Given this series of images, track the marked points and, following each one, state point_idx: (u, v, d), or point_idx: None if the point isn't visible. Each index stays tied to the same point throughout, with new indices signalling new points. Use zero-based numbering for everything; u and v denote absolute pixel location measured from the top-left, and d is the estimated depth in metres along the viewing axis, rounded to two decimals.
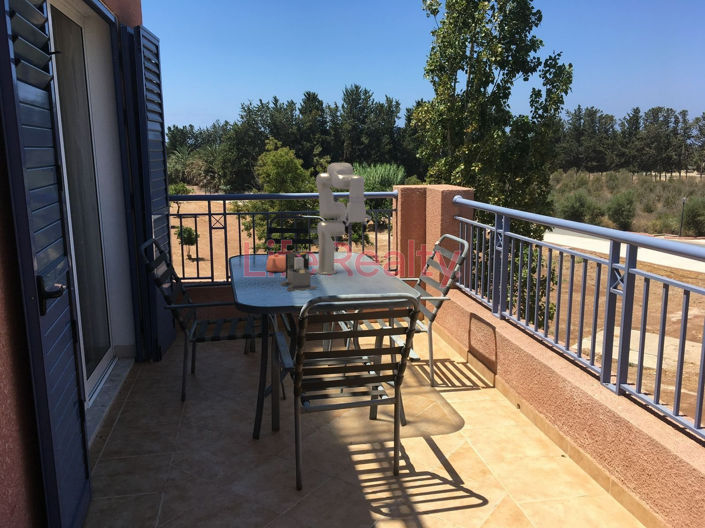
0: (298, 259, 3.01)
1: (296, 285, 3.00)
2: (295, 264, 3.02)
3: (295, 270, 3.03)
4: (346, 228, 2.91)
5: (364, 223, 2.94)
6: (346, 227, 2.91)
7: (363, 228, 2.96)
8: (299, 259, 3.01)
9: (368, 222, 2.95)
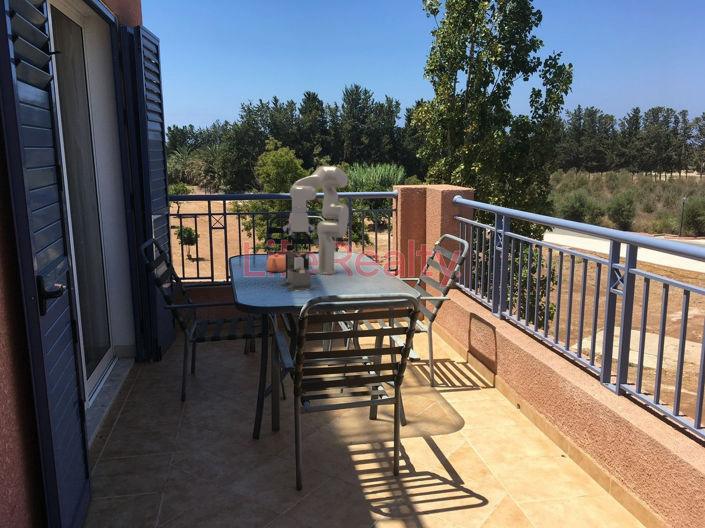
0: (298, 259, 3.01)
1: (296, 285, 3.00)
2: (295, 264, 3.02)
3: (295, 270, 3.03)
4: (289, 238, 2.97)
5: (307, 233, 3.00)
6: (289, 237, 2.97)
7: (306, 238, 3.02)
8: (299, 259, 3.01)
9: (311, 232, 3.01)
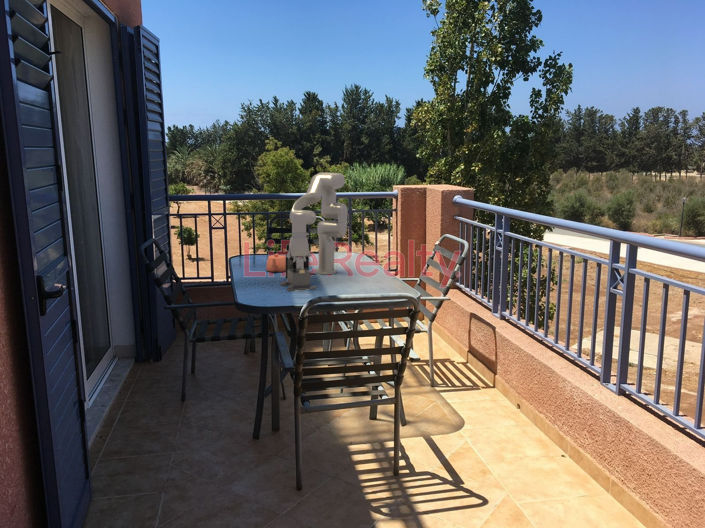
0: (298, 259, 3.01)
1: (296, 285, 3.00)
2: None
3: (295, 270, 3.03)
4: (293, 264, 3.02)
5: None
6: (293, 263, 3.01)
7: None
8: (299, 259, 3.01)
9: (307, 258, 3.04)
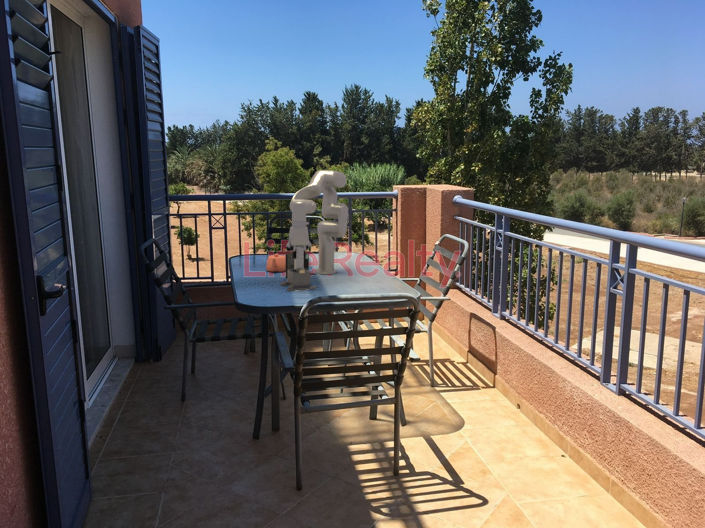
0: (298, 248, 2.99)
1: (296, 285, 3.00)
2: None
3: (295, 259, 3.02)
4: (294, 253, 3.00)
5: None
6: (294, 252, 3.00)
7: None
8: (299, 248, 3.00)
9: (307, 248, 3.02)
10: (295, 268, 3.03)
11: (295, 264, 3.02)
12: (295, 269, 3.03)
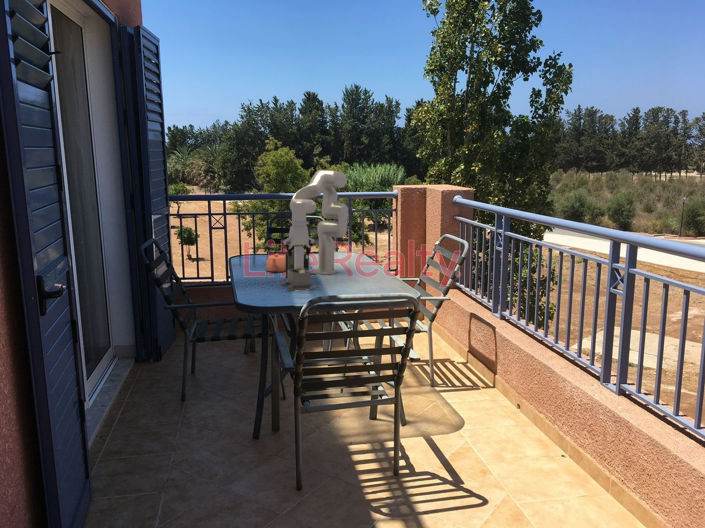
0: (298, 248, 2.99)
1: (296, 285, 3.00)
2: (295, 253, 3.01)
3: (295, 259, 3.02)
4: (289, 251, 2.99)
5: (307, 246, 3.02)
6: (289, 250, 2.99)
7: (306, 251, 3.04)
8: (299, 248, 3.00)
9: (311, 245, 3.03)
10: (295, 268, 3.03)
11: (295, 264, 3.02)
12: (295, 269, 3.03)
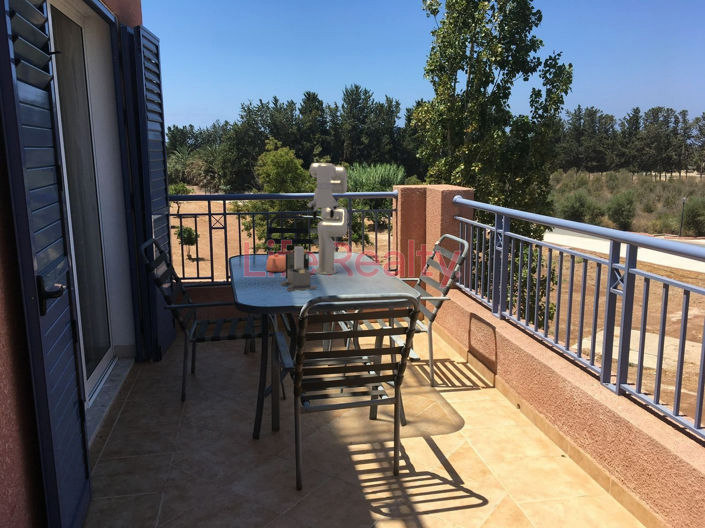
0: (298, 248, 2.99)
1: (296, 285, 3.00)
2: (295, 253, 3.01)
3: (295, 259, 3.02)
4: (314, 213, 3.07)
5: (331, 209, 3.10)
6: (314, 212, 3.07)
7: (331, 213, 3.12)
8: (299, 248, 3.00)
9: (335, 208, 3.11)
10: (295, 268, 3.03)
11: (295, 264, 3.02)
12: (295, 269, 3.03)
